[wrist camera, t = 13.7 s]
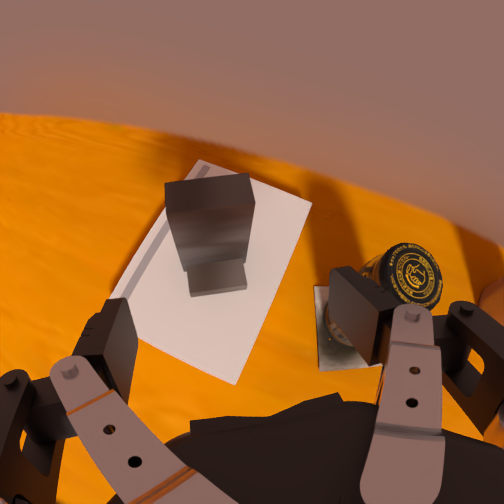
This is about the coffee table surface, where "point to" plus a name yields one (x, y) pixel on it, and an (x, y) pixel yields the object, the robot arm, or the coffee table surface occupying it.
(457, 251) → the coffee table surface
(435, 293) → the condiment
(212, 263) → the dark block with lip
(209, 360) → the board
